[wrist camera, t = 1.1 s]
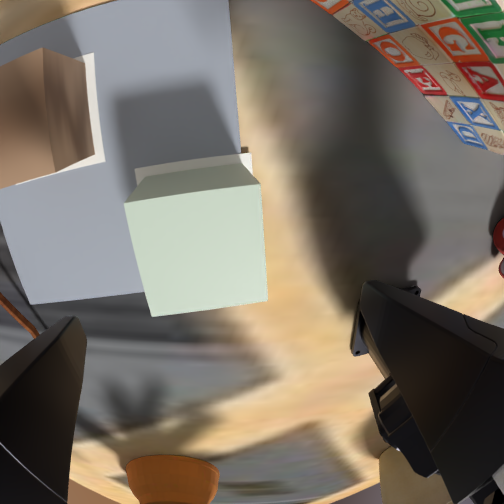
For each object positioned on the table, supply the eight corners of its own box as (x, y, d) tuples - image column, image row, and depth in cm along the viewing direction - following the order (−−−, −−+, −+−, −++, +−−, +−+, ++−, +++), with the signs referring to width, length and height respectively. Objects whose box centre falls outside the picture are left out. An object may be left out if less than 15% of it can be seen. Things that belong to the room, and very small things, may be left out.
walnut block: (95, 154, 17) (55, 172, 12) (20, 174, 16) (-31, 200, 11) (85, 63, 14) (42, 47, 9) (9, 91, 14) (-45, 92, 8)
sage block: (249, 251, 21) (267, 300, 16) (161, 263, 21) (152, 316, 15) (242, 163, 19) (260, 184, 13) (145, 176, 18) (123, 203, 13)
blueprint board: (259, 273, 23) (260, 276, 22) (32, 302, 21) (30, 305, 20) (236, -15, 14) (237, -17, 14) (-19, 56, 12) (-22, 56, 12)
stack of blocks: (487, 94, 19) (598, 116, 8) (462, 145, 21) (580, 186, 10) (298, -78, 12) (373, -171, 1) (251, -33, 14) (311, -149, 3)
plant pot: (429, 442, 46) (462, 500, 31) (362, 477, 46) (389, 540, 32) (437, 410, 39) (482, 480, 25) (355, 453, 39) (390, 534, 25)
